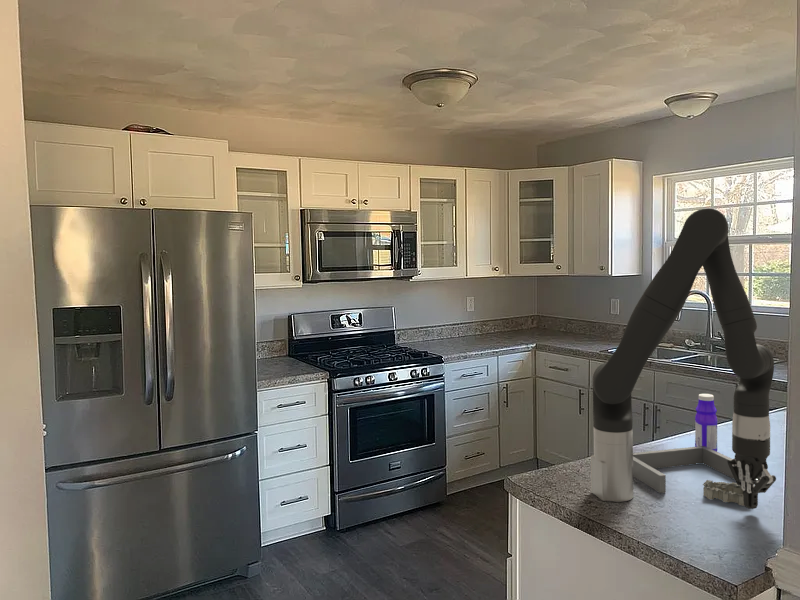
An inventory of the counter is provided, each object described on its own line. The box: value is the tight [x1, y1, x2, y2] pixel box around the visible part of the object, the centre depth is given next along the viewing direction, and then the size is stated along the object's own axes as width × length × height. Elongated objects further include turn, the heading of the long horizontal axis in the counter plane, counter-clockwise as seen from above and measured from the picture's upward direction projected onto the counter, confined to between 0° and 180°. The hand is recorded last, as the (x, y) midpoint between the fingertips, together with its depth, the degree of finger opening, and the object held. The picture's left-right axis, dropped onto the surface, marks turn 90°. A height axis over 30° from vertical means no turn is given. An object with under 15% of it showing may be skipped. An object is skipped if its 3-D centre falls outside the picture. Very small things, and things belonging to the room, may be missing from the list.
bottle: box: [694, 393, 719, 452], centre depth 183 cm, size 7×6×17 cm
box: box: [633, 446, 739, 494], centre depth 166 cm, size 25×18×4 cm
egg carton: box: [702, 479, 745, 507], centre depth 151 cm, size 11×8×4 cm
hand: (750, 507), depth 141 cm, fingers closed
